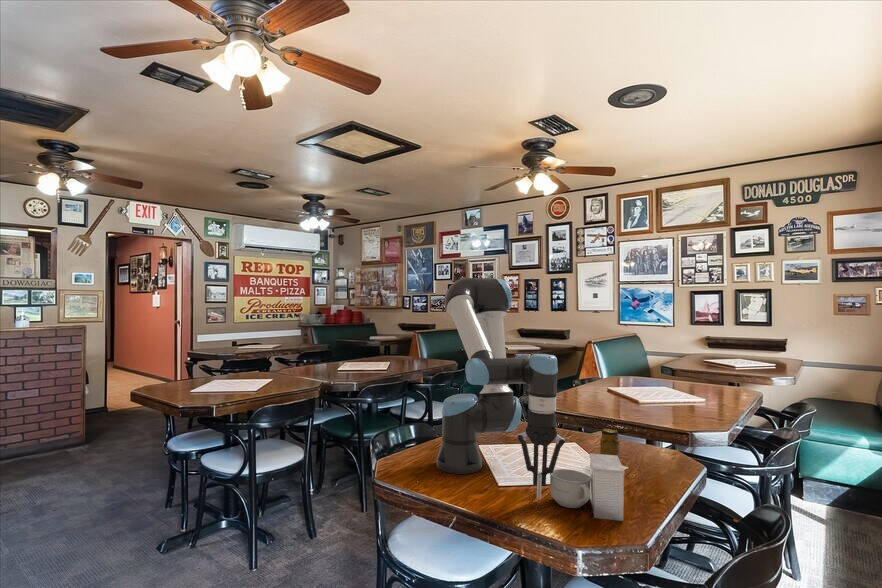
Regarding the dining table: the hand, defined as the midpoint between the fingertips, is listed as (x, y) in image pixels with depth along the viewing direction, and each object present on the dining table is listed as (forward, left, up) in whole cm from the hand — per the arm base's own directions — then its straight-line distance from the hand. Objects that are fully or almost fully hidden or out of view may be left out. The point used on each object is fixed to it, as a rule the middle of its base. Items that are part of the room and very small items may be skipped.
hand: (538, 497), depth 127 cm
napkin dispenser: (+17, +1, -2) cm, 18 cm away
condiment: (+23, +36, -2) cm, 43 cm away
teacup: (+9, 0, -2) cm, 9 cm away
